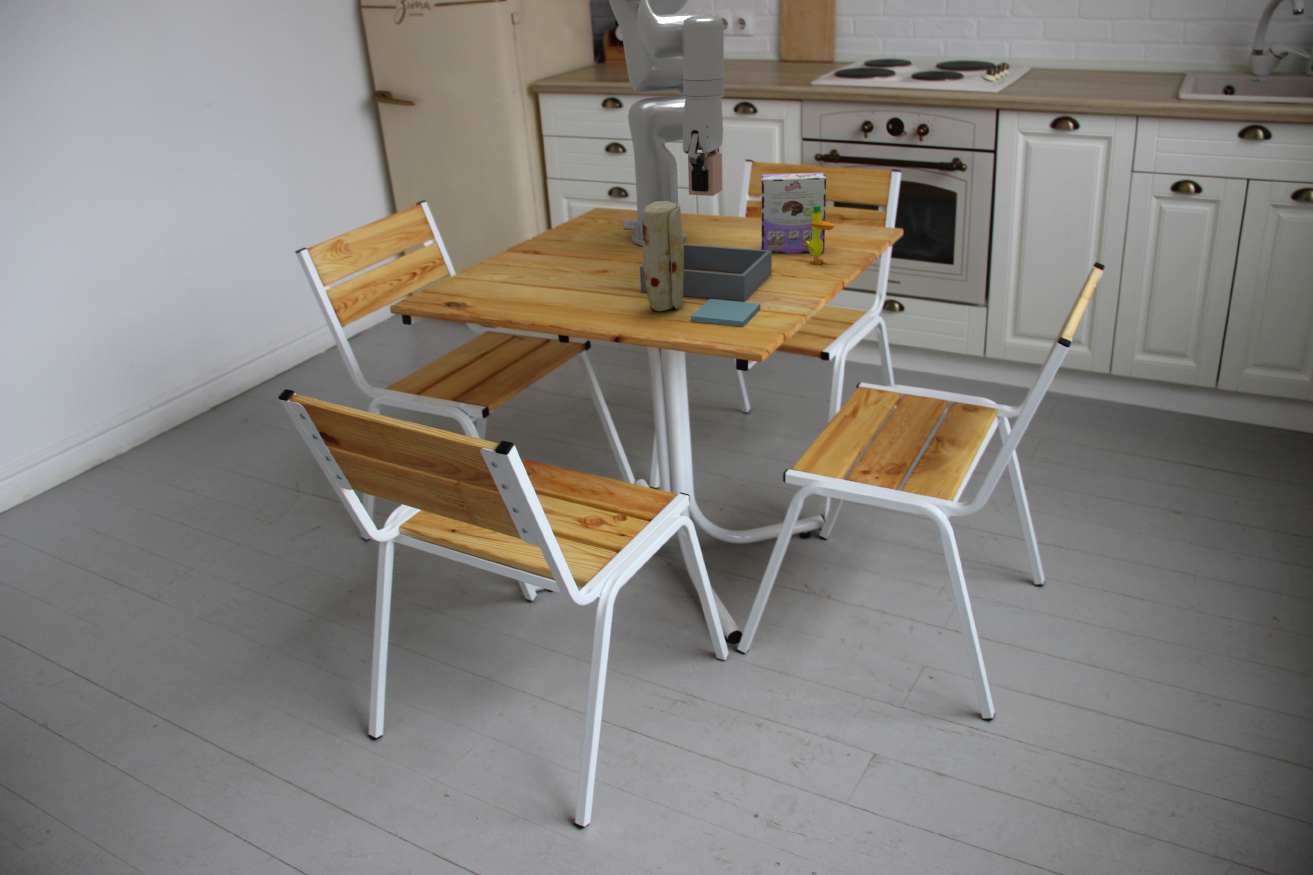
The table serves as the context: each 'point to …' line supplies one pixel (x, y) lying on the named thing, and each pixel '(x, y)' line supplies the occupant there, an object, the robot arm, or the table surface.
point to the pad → (725, 312)
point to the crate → (725, 260)
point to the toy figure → (817, 234)
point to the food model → (663, 255)
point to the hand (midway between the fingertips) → (705, 186)
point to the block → (709, 175)
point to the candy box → (790, 210)
